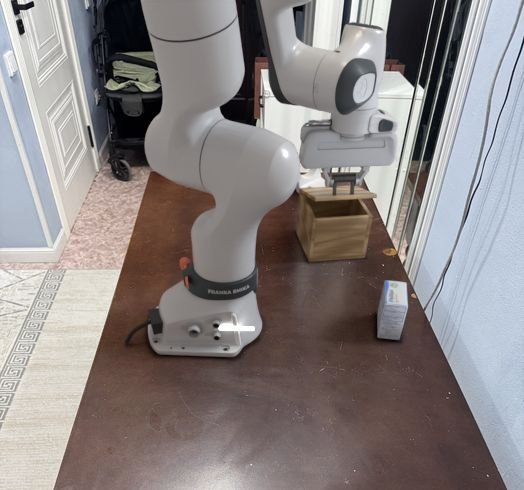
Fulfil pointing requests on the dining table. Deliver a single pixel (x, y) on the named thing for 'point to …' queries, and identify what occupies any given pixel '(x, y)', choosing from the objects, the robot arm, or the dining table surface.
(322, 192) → the chest lid
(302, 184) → the bracket
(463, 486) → the dining table surface
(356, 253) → the chest
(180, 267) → the robot arm
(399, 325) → the medicine box
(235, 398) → the dining table surface
